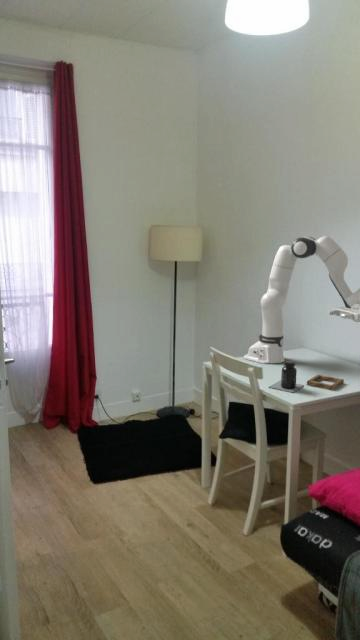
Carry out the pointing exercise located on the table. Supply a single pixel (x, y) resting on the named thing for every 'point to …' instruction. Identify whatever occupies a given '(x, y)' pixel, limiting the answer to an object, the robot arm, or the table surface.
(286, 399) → the table surface
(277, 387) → the grey mat
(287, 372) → the supplement bottle
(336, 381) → the frame
